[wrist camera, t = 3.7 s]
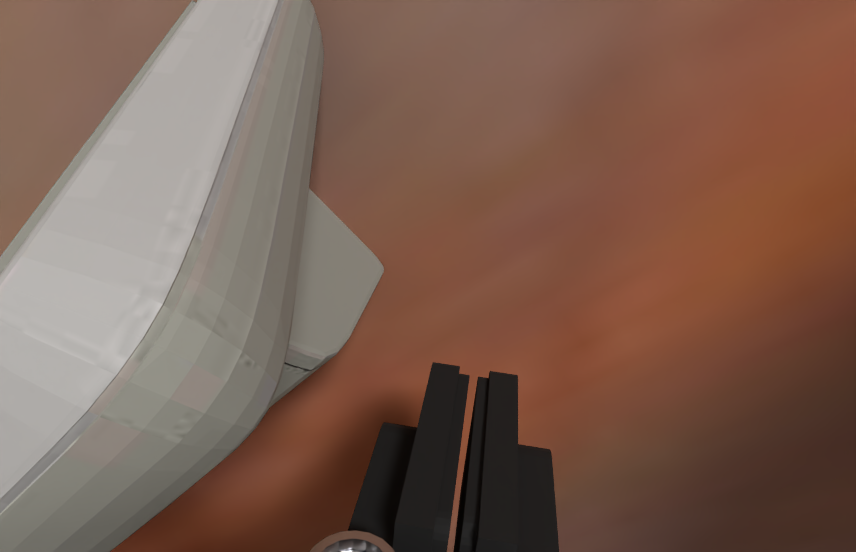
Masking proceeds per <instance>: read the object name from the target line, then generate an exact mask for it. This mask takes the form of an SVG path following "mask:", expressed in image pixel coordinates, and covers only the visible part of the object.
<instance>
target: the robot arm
mask: <svg viewBox="0 0 856 552" xmlns="http://www.w3.org/2000/svg"><path fill="white" fill-rule="evenodd" d="M459 369H460V366H454V365H447V364H441V363H434V362H433V364H432V368H431V372H430V376H429V380H428V385H427V389H426V393H425V397H424V401H423V406H422V410H421V414H420V418H419V423H418V427H417V428H416V427H410V426H404V425H397V424H391V423H385V422H384V423H383V424H382V427H381V429H380V432H379V436H378V439H377V442H376V445H375V448H374V451H373V454H372V457H371V460H370V463H369V467H368V470H367V473H366V476H365V479H364V482H363V485H362V488H361V491H360V495H359V498H358V501H357V504H356V507H355V510H354V513H353V516H352V519H351V522H350V526H349V529H348V531H343V532H339V533H336V534H333V535H330V536H327V537H326V538H324V539H323V540H321V541H320V542H319V543H317V544H316V545H315V546H314V547H313V548H312V549H311V551H310V552H447V545H448V538H449V531H450V523H451V516H452V508H453V500H454V493H455V485H456V477H457V469H458V461H459V454H460V446H461V438H462V430H463V422H464V415H465V407H466V399H467V391H468V383H469V375H464V374H459ZM454 552H559V544H558V531H557V518H556V505H555V492H554V479H553V466H552V456H551V451H550V449H544V448H538V447H532V446H526V445H519V444H518V376H517V375H512V374H506V373H499V372H493V371H490V373H489V378H483V377H478V381H477V387H476V394H475V400H474V407H473V413H472V420H471V426H470V433H469V439H468V446H467V453H466V459H465V466H464V472H463V479H462V486H461V493H460V501H459V510H458V518H457V527H456V536H455V544H454Z"/></svg>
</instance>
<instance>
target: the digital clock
mask: <svg viewBox="0 0 856 552" xmlns="http://www.w3.org/2000/svg"><path fill="white" fill-rule="evenodd" d="M323 63H324V48H323V42H322V36H321V31H320V27H319V24H318V20H317V17H316V13H315V10H314V7H313V5H312V3H311V1H310V0H198V1H197V2H194V1H193V0H192V1H191V3H190V4H189V5H188V7H187V8H186V9H185V11H184V12H183V13H182V15H181V16H180V17H179V19H178V20H177V21H176V23H175V24H174V25H173V27H172V28H171V29H170V31H169V32H168V33H167V35H166V36H165V37H164V39H163V40H162V41H161V43H160V44H159V45H158V47H157V48H156V49H155V51H154V52H153V53H152V55H151V56H150V57H149V59H148V60H147V61H146V63H145V64H144V65H143V67H142V68H141V69H140V71H139V72H138V73H137V75H136V76H135V77H134V79H133V80H132V81H131V83H130V84H129V85H128V87H127V88H126V89H125V91H124V92H123V93H122V95H121V96H120V97H119V99H118V100H117V101H116V103H115V104H114V105H113V107H112V108H111V109H110V111H109V112H108V113H107V115H106V116H105V118H104V119H103V120H102V122H101V123H100V124H99V126H98V127H97V128H96V130H95V131H94V132H93V134H92V135H91V136H90V138H89V139H88V140H87V142H86V143H85V144H84V146H83V147H82V148H81V150H80V151H79V152H78V154H77V155H76V156H75V158H74V159H73V160H72V162H71V163H70V164H69V166H68V167H67V168H66V170H65V171H64V172H63V174H62V175H61V176H60V178H59V179H58V180H57V182H56V183H55V184H54V186H53V187H52V188H51V190H50V191H49V192H48V194H47V195H46V196H45V198H44V199H43V200H42V202H41V203H40V204H39V206H38V207H37V208H36V210H35V211H34V212H33V214H32V215H31V216H30V218H29V219H28V220H27V222H26V223H25V224H24V226H23V227H22V228H21V230H20V231H19V232H18V234H17V235H16V236H15V238H14V239H13V241H12V242H11V243H10V245H9V246H8V247H7V249H6V250H5V251H4V253H3V254H2V255H1V257H0V552H110V551H111V550H113V549H114V548H115V547H116V546H118V545H119V544H120V543H122V542H123V541H124V540H125V539H127V538H128V537H129V536H130V535H132V534H133V533H134V532H136V531H137V530H138V529H139V528H141V527H142V526H143V525H144V524H146V523H147V522H148V521H150V520H151V519H152V518H153V517H155V516H156V515H157V514H158V513H160V512H161V511H162V510H163V509H165V508H166V507H167V506H168V505H170V504H171V503H172V502H173V501H174V500H176V499H177V498H178V497H179V496H180V495H182V494H183V493H184V492H185V491H186V490H188V489H189V488H190V487H191V486H192V485H194V484H195V483H196V482H197V481H199V480H200V479H201V478H202V477H203V476H205V475H206V474H207V473H208V472H209V471H211V470H212V469H213V468H214V467H215V466H217V465H218V464H219V463H220V462H221V461H223V460H224V459H225V458H226V457H227V456H229V455H230V454H231V453H232V452H233V451H235V450H236V449H237V448H238V447H239V445H240V444H241V443H242V442H243V441H244V440H245V439H246V438H247V437H248V436H249V435H250V434H251V433H252V432H253V430H254V429H255V428H256V427H257V426H258V424H259V423H260V421H261V420H262V418H263V417H264V415H265V414H266V412H267V411H268V409H269V408H270V407H271V406H272V405H273V404H275V403H276V402H277V401H278V400H280V399H281V398H282V397H283V396H285V395H286V394H287V393H288V392H290V391H291V390H292V389H293V388H295V387H296V386H297V385H299V384H300V383H301V382H302V381H304V380H305V379H306V378H307V377H309V376H310V375H311V374H312V373H314V372H315V371H316V370H317V369H319V368H320V367H321V366H322V365H323V364H325V363H326V362H327V361H329V360H330V359H331V358H332V357H334V356H335V355H336V354H337V353H338V352H339V351H340V350H341V348H342V347H343V346H344V345H345V343H346V342H347V340H348V339H349V337H350V335H351V333H352V332H353V330H354V328H355V326H356V324H357V322H358V320H359V318H360V316H361V314H362V313H363V311H364V309H365V307H366V305H367V303H368V301H369V299H370V297H371V295H372V293H373V292H374V290H375V288H376V286H377V284H378V282H379V280H380V278H381V276H382V274H383V272H384V268H383V265H382V264H381V262H380V261H379V260H378V258H377V257H376V256H375V255H374V254H373V253H372V251H371V250H370V249H369V248H368V247H367V246H366V245H365V244H364V243H363V242H362V241H361V240H360V239H359V238H358V237H357V236H356V235H355V234H354V233H353V232H352V231H351V230H350V229H349V228H348V227H347V226H346V225H345V224H344V223H343V222H342V221H341V220H340V219H339V218H338V217H337V216H336V215H335V214H334V213H333V212H332V211H331V210H330V209H329V208H328V207H327V206H326V205H325V204H324V203H323V202H322V201H321V200H320V199H319V198H318V197H317V196H316V195H315V194H314V193H313V192H312V191H311V190H310V189H309V183H310V174H311V166H312V157H313V149H314V141H315V132H316V124H317V115H318V107H319V98H320V90H321V82H322V73H323Z"/></svg>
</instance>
